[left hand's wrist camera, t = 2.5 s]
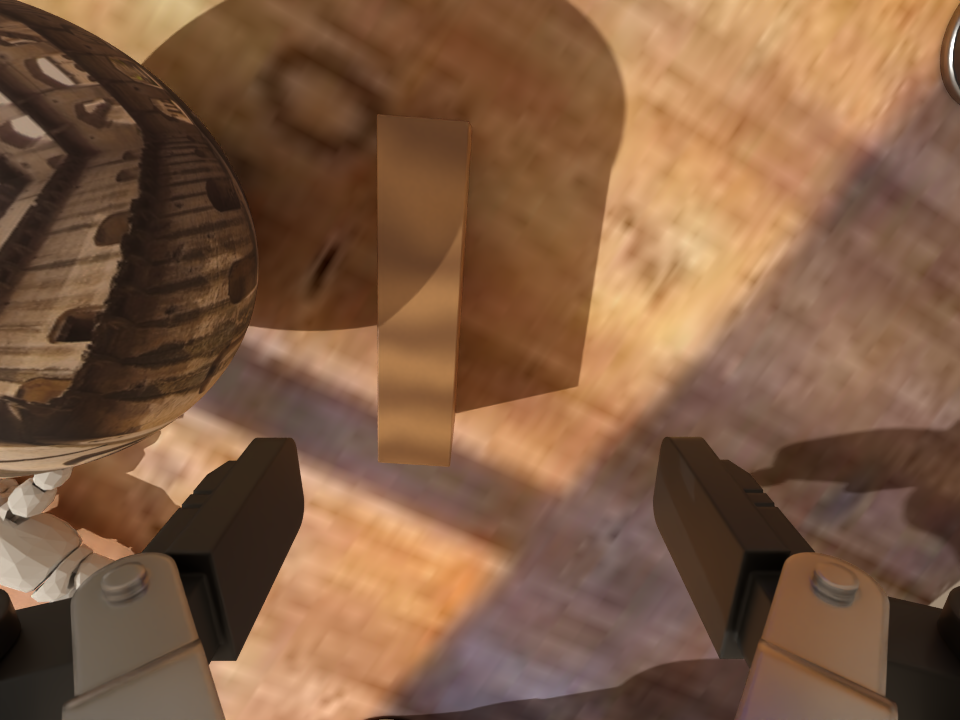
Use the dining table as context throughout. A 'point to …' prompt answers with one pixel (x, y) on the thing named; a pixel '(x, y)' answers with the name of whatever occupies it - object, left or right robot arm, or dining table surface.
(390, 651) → the dining table surface
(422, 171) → the bar
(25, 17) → the sphere
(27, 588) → the toy
